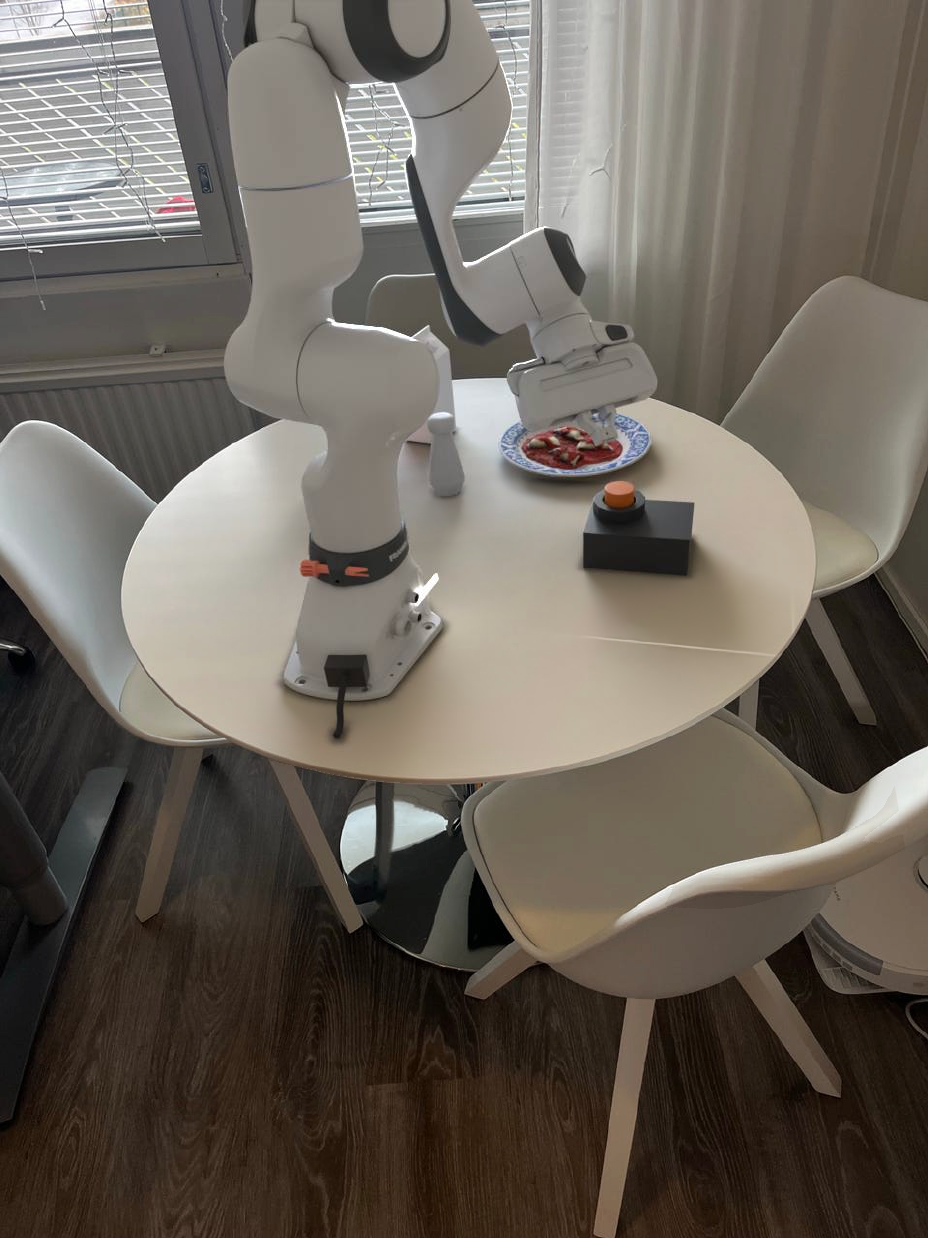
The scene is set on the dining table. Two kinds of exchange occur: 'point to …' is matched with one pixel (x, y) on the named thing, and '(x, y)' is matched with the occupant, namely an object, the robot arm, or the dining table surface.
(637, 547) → the button base
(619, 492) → the orange push button
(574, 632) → the dining table surface
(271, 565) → the dining table surface
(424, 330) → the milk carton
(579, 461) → the ceramic plate
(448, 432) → the salt shaker
